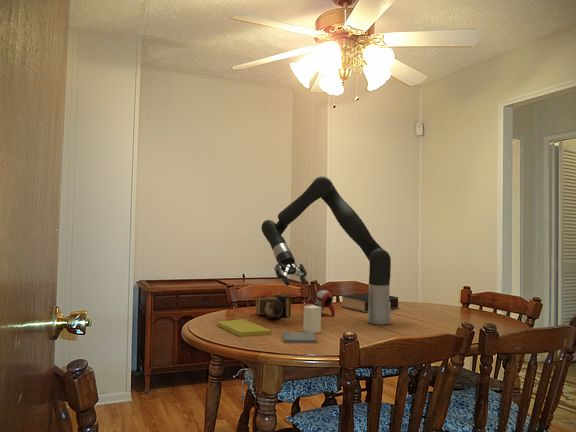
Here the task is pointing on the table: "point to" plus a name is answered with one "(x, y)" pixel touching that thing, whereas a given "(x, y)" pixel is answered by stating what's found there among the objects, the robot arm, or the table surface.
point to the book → (363, 302)
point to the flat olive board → (243, 328)
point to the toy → (323, 301)
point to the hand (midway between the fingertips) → (296, 284)
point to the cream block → (312, 319)
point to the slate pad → (299, 337)
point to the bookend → (274, 306)
